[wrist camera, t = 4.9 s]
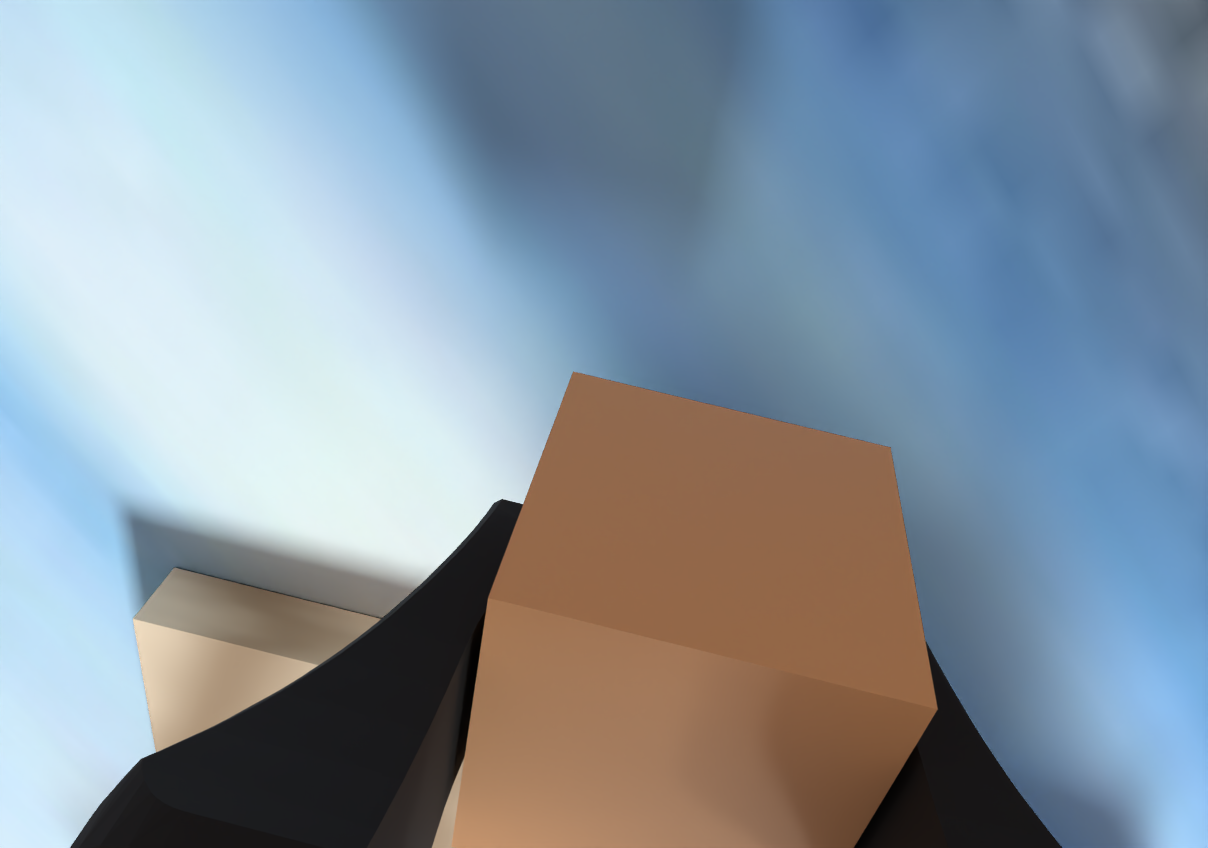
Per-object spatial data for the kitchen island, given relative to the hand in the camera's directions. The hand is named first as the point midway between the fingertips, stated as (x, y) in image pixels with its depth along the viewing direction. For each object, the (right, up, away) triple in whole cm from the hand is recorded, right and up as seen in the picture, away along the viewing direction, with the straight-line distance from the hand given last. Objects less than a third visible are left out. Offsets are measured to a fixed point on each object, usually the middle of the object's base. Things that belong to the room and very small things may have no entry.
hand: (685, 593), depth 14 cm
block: (0, +1, +1) cm, 2 cm away
